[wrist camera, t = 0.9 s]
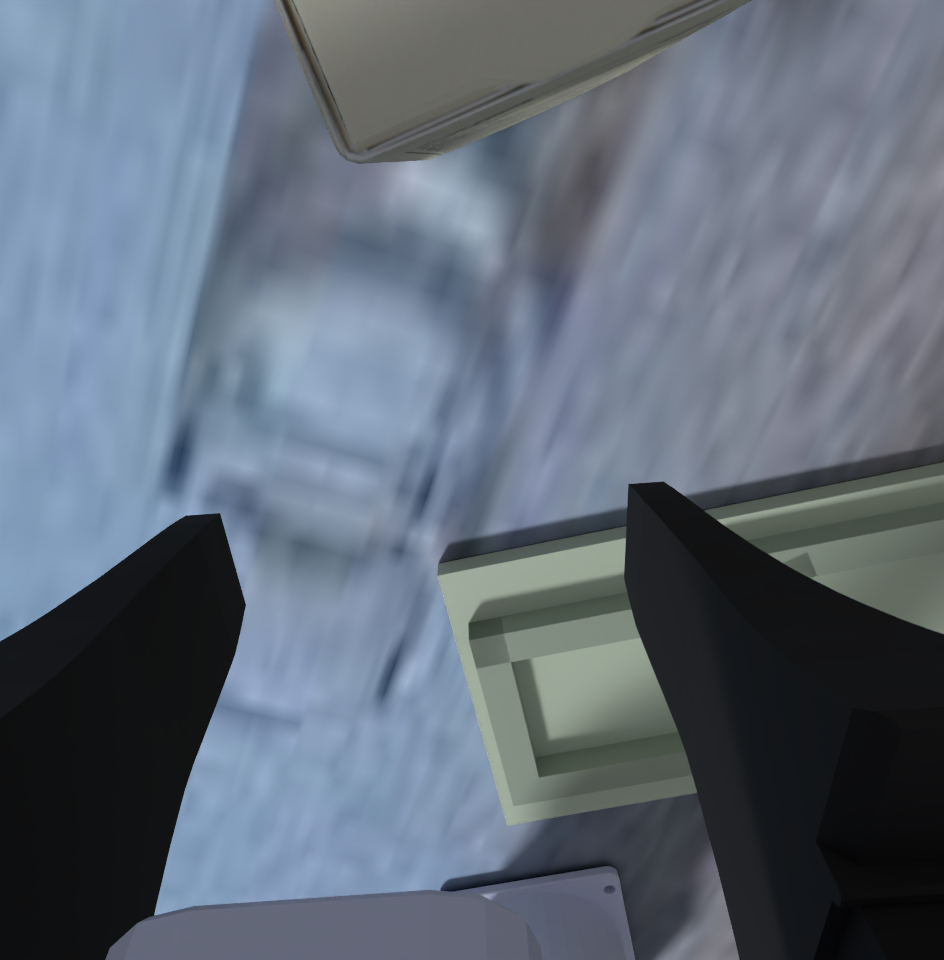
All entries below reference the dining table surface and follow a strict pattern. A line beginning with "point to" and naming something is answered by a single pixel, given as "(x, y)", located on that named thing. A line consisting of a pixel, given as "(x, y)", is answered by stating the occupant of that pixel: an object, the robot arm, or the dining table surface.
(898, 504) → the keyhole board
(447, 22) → the skincare box
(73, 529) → the dining table surface
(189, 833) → the dining table surface
